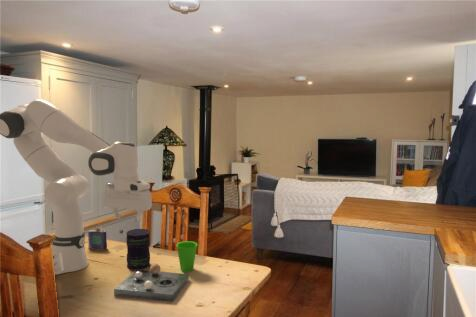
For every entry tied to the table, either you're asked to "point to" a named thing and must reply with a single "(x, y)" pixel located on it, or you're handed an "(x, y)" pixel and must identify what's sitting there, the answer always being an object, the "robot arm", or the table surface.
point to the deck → (162, 289)
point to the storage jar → (138, 249)
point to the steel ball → (138, 275)
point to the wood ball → (155, 269)
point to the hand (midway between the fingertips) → (127, 220)
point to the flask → (97, 239)
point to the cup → (186, 255)
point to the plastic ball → (148, 284)
